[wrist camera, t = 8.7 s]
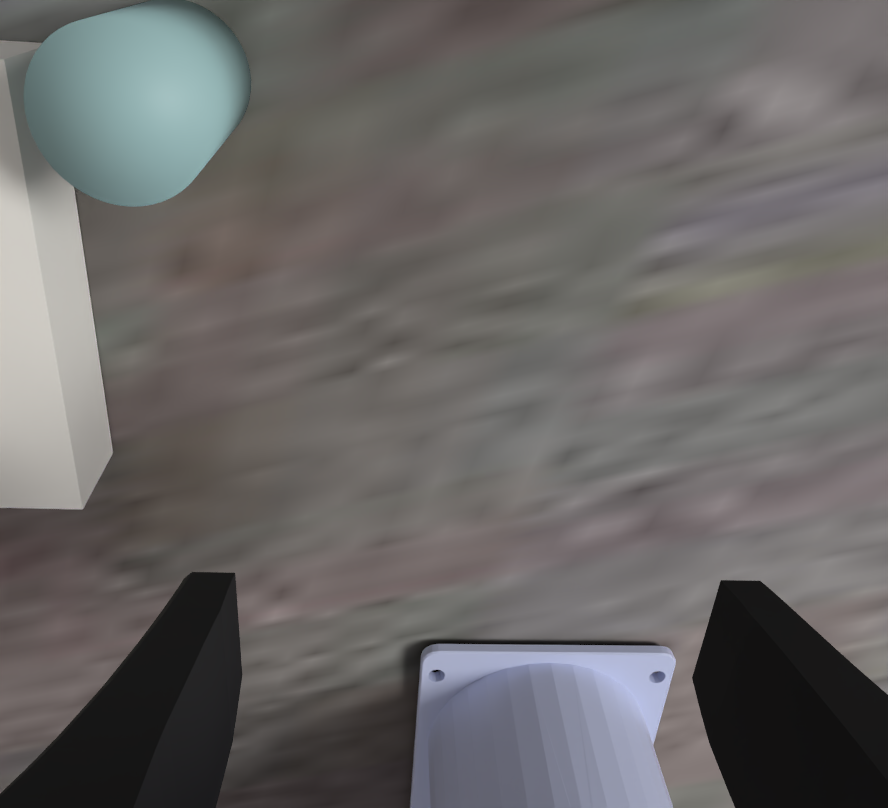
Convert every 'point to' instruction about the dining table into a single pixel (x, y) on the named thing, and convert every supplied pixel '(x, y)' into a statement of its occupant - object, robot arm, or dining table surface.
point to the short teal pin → (136, 99)
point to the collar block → (43, 322)
